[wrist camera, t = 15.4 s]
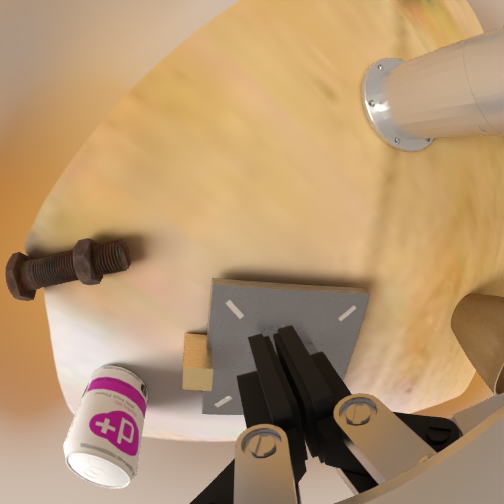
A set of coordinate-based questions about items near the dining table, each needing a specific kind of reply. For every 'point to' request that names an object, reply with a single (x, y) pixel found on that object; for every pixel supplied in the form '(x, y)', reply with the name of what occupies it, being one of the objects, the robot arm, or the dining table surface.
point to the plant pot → (482, 336)
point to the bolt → (65, 267)
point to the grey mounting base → (266, 332)
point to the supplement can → (108, 428)
